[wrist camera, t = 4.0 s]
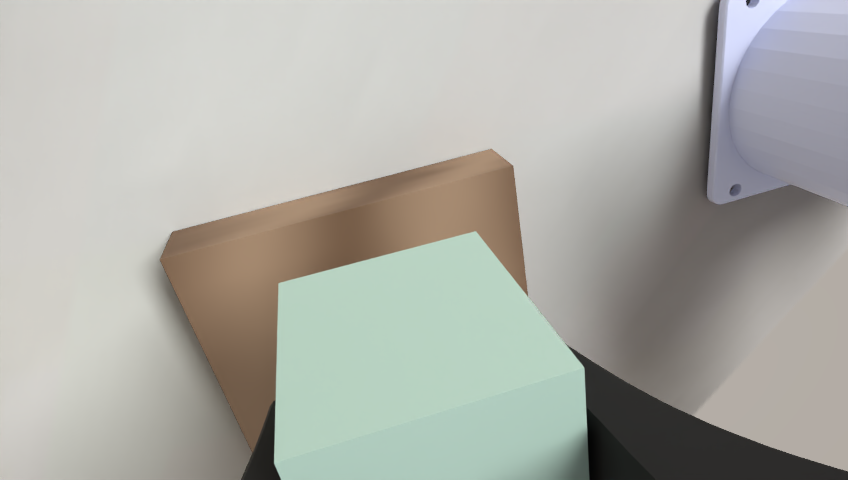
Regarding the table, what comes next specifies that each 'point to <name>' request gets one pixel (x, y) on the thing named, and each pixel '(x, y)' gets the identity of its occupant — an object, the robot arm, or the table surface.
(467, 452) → the sage block
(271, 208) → the walnut base
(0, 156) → the table surface
